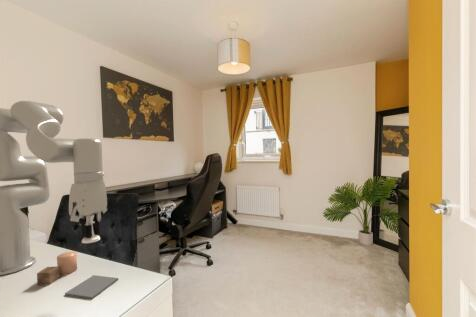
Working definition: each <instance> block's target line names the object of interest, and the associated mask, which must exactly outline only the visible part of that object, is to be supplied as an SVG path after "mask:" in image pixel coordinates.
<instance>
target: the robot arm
mask: <svg viewBox="0 0 476 317" xmlns="http://www.w3.org/2000/svg"><path fill="white" fill-rule="evenodd" d="M63 122H64V114H63V112H62V110H61V109H60V108H59V107H57V106H55V105H52V104H48V103H41V102H36V101H31V100H20V101H16V102H14V103H13V104H12V105H11V106H10V109H9V108H3V107H2V108H0V182H15V181H24V180H25V181H27V180H28V182H24V183H23V182H22V183H14V184H13V183H12V184H4V185H0V276H3V275H4V276H5V275H9V274H14V273H16V272H20V271H23V270H25V269H27V268H29V267H31V266H33V265H34V264H35V263H36V261H37V260H36V259H37V258H36V257H34V256H31V242H30V221H29V217H28V216H27V214H25V213H24V212H23V211H22V210H21V209H23V208H27V207H28V208H29V207H32V206H38V205H42V204H45V203H46V202H48V200H49V198H50V196H51V195H50V194H51V193H50V191H51V190H50V184H49V176H48V175H49V174H48V167H47V164H46V163H48V164H49V163H51V164H57V163H59V164H60V163H73V181H74V182H73V183H71V186H70V190H69V194H68V195H69V197H68V214H69V216H70V218H69V221H70V222H75V223H77V224H79V226H81V237H82V239H83V238H91V237H92V225H89V224H90V215H91V214H94V218H93V221H94V222H95V223H93V230H94V234H95V235H98V236H99V235H100V234H101V232H100V222H101V220H102V217H103V215H104V214H105V213H106V212H107V211H108V208H107V206H108V197H107V196H108V195H107V190H106V189H107V187H106V185H105V184H106V183H105V181H104V176H105V173H104V170H103V168H104V167H103V147H102V146H103V145H102V141H101V140H100V139H98V138H87V137H86V138H75V139H74V138H60V137H59V138H57V137H56V136H58V135H59V133H60V132H61V127H62V126H61V125H62V124H63ZM11 133H19V134H26V136H25V143H26V146H27V148H28V150H29V151H30V152H31V153H32V154H33V155H34V156H32V155H25V156H24V155H22V154H21V153H22V151H21V145H20V143H19V141H17V140H16V139H15V137H14V136H12V135H11Z"/></svg>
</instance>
